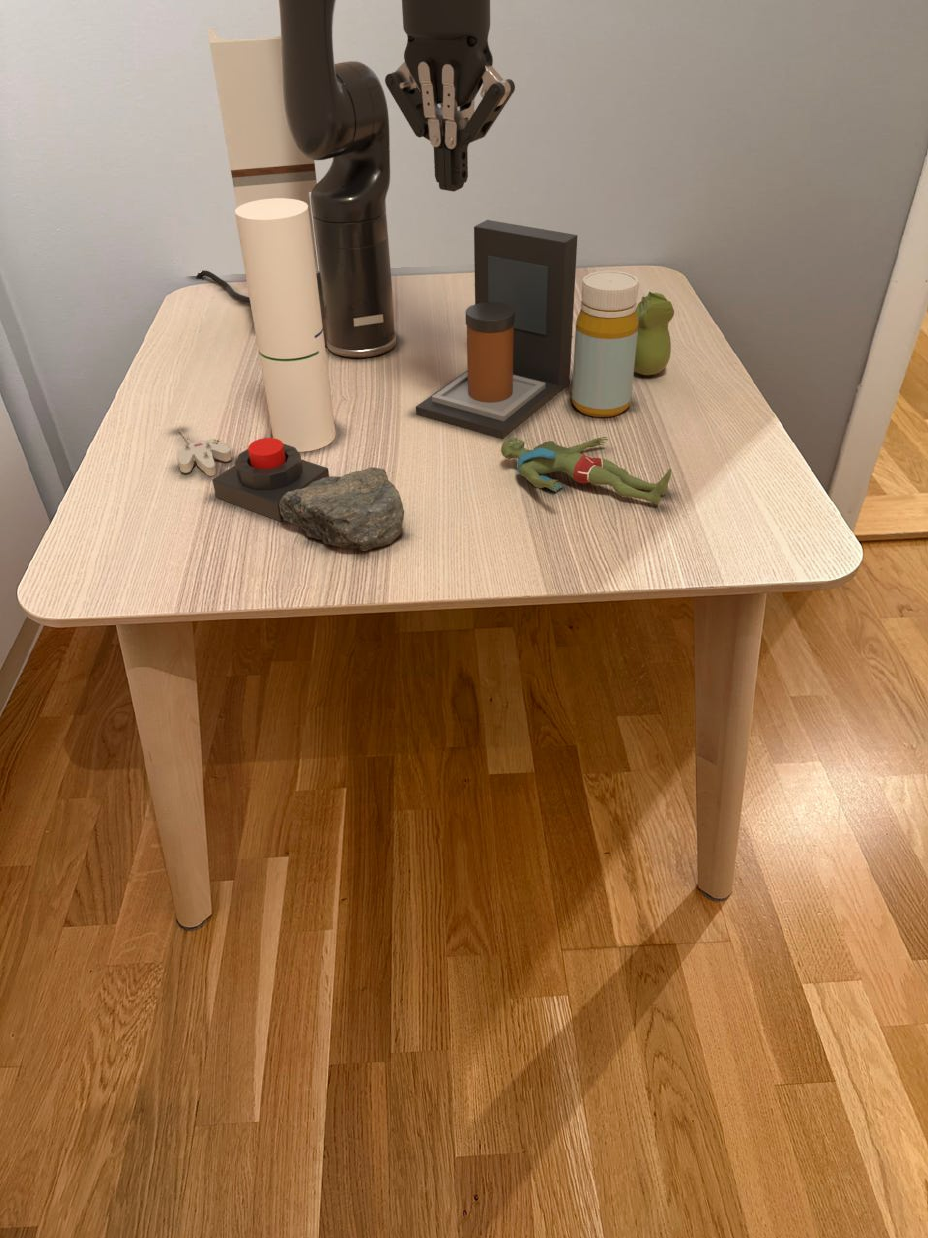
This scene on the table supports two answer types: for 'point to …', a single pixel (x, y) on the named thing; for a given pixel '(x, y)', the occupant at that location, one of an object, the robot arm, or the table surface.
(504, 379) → the orange canister with lid
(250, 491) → the control block
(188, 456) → the game controller
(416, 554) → the table surface
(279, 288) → the cylindrical container
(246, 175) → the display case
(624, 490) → the figurine
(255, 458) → the button
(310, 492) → the rock
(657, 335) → the pear
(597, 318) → the bottle
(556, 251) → the coffee maker
